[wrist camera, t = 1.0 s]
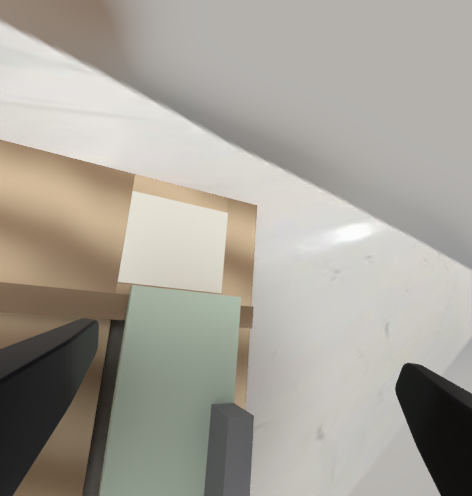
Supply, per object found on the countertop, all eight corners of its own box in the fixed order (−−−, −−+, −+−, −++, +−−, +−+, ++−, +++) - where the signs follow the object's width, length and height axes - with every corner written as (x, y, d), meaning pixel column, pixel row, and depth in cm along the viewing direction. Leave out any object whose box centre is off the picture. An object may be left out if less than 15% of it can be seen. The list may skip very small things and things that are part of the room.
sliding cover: (210, 650, 16) (237, 724, 13) (65, 710, 13) (58, 821, 10) (236, 297, 21) (260, 295, 18) (130, 286, 18) (138, 281, 15)
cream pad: (219, 293, 25) (221, 293, 24) (117, 282, 21) (117, 282, 21) (226, 213, 26) (227, 212, 26) (132, 192, 23) (132, 190, 23)
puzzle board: (227, 557, 23) (264, 624, 18) (-243, 688, 13) (-432, 905, 8) (249, 210, 29) (281, 190, 24) (-55, 135, 20) (-101, 79, 15)
